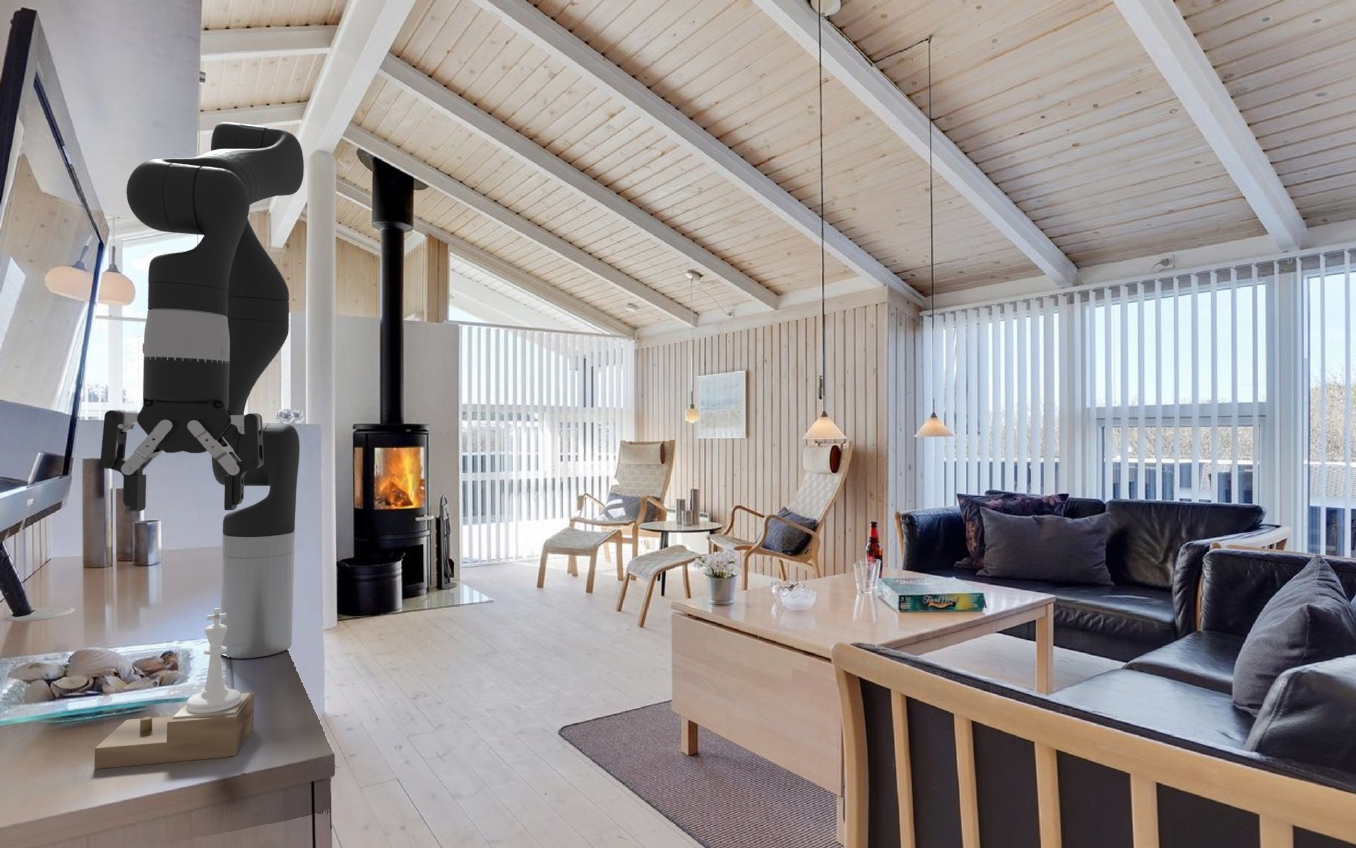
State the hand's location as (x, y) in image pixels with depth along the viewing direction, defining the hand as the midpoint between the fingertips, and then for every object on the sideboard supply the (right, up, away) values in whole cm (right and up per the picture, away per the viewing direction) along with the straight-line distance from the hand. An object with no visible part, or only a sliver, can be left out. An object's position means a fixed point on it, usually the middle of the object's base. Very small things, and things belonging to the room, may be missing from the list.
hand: (184, 510), depth 78 cm
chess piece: (+4, -20, -1) cm, 21 cm away
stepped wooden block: (+1, -24, -2) cm, 24 cm away
